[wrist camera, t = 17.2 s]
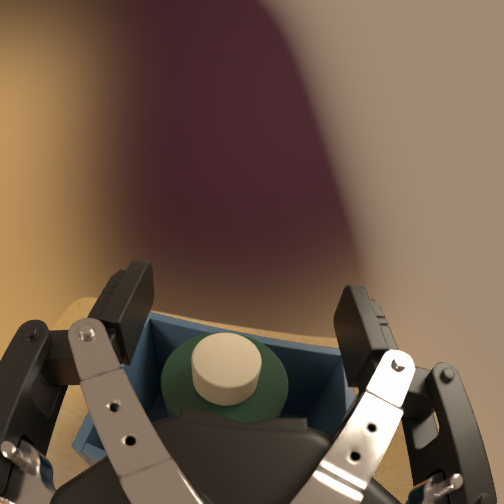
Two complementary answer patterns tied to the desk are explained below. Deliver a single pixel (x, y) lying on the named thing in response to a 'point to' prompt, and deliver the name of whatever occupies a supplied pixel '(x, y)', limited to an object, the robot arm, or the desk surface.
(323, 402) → the blue open storage bin
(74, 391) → the desk surface
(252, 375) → the bottle
